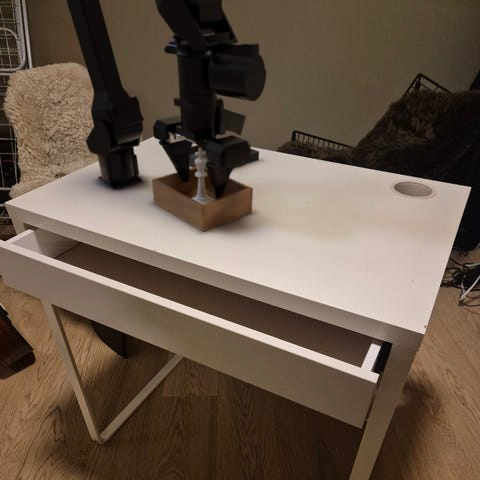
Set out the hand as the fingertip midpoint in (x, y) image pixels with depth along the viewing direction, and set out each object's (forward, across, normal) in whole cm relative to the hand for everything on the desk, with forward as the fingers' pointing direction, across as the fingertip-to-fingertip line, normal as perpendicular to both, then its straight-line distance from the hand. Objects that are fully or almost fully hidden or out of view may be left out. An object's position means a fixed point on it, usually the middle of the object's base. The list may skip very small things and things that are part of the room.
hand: (201, 190), depth 73 cm
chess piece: (+3, 0, 0) cm, 3 cm away
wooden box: (+3, 0, 0) cm, 3 cm away
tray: (+3, +17, -18) cm, 25 cm away
